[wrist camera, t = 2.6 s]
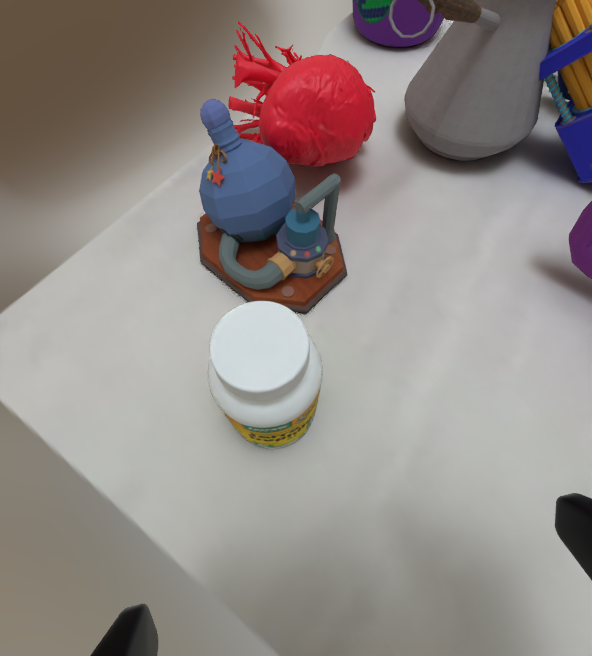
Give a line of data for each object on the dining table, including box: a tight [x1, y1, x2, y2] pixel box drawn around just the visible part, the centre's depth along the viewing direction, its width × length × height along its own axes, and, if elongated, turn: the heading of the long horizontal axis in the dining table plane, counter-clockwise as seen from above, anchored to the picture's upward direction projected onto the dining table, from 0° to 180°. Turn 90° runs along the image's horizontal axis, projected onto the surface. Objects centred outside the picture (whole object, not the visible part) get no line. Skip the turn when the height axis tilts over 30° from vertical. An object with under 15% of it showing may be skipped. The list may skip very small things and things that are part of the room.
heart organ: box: [229, 22, 376, 167], centre depth 29 cm, size 10×12×12 cm
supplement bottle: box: [208, 301, 322, 449], centre depth 18 cm, size 5×5×10 cm
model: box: [197, 99, 347, 313], centre depth 24 cm, size 12×9×9 cm
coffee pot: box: [389, 0, 557, 161], centre depth 26 cm, size 21×12×15 cm, turn 138°
